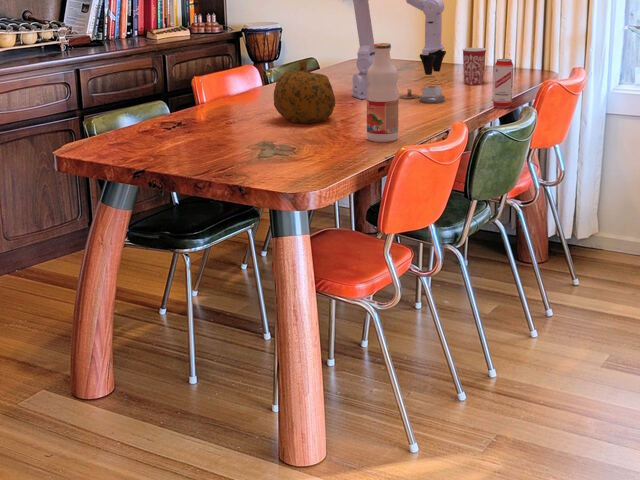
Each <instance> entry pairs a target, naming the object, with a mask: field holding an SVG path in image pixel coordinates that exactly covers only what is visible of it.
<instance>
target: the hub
mask: <svg viewBox="0 0 640 480" xmlns="http://www.w3.org/2000/svg"><path fill="white" fill-rule="evenodd" d="M445 101H446V96H445V95H442V94H441V96H440V97H438V98H436V99H435V98H422V95H419V103H423V104H440V103H441V104H442V103H444V102H445Z"/></svg>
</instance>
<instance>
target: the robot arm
mask: <svg viewBox="0 0 640 480" xmlns="http://www.w3.org/2000/svg"><path fill="white" fill-rule="evenodd" d="M405 2H406V3H407V5H410V6H412V7H414V8H416V9H418V10H420V11H421V12H423V14H424V15H425V20H424V21H425V23H424V48H423V49H422V52H421V53H420V54H419V58H420V60H421V63H422V65H423V69H424V70H423V71H424V74H425V75H426V76H432V74H433V72H437V73H438V72H440V71H441V69H442V63H443V60H444V58H445V55H446V54H447V51H446V50H445V46H444V43H443V44H442V29H443V28H442V27H443V26H442V21H443V20H442V18H443V17H442V16H443V15H442V13H443V12H444V10H445V3H444V1H443V0H405ZM352 3H353V8H354V16H355V21H356V22H355V24H356V29H357V37H358V44H359V48H358V51H357V53H356V54H357V59H356V68H357V70H358V71H359V72H358V73H353V75H352V94H351V96H352V97H354V98H357V99H359V100H363V99H365V100H367V98H366V97H367V89H368V86H369V84H368V80H367V71H368V69H369V67H370V66H371V65H372V63H373V60H374V56H375V50H374V44H375V39H374V33H373V32H374V31H373V25H372V17H371V12H370V11H371V10H370V4H369V0H352Z"/></svg>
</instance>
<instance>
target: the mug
mask: <svg viewBox="0 0 640 480" xmlns="http://www.w3.org/2000/svg"><path fill="white" fill-rule="evenodd" d="M486 53H487V49H486V48H485V47H484V48H483V47H466V48H463V49H462V58H463V59H462V63H463V84H464V85H466V86H481V85H483V83H484V82H483V81H484V72H485V63H486V62H485V60H486Z"/></svg>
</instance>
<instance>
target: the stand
mask: <svg viewBox="0 0 640 480" xmlns="http://www.w3.org/2000/svg"><path fill="white" fill-rule="evenodd" d="M399 99H402V100H417V99H420V95H419V94H412V89H411V88H408V89H407V94H406V93H405V94H401V95H399Z"/></svg>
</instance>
